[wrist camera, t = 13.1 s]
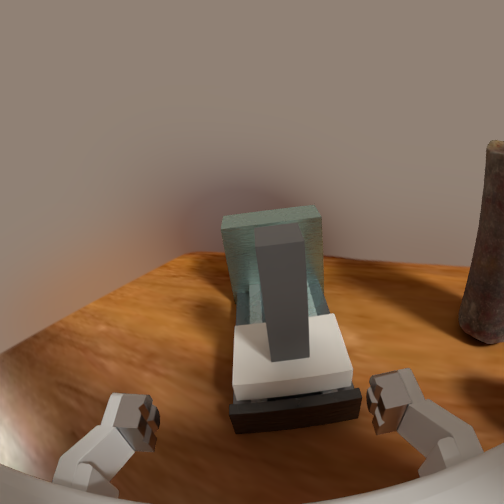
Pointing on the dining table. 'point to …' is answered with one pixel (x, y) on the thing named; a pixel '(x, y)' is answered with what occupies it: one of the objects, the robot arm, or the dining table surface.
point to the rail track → (252, 312)
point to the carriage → (287, 328)
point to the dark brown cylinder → (487, 258)
